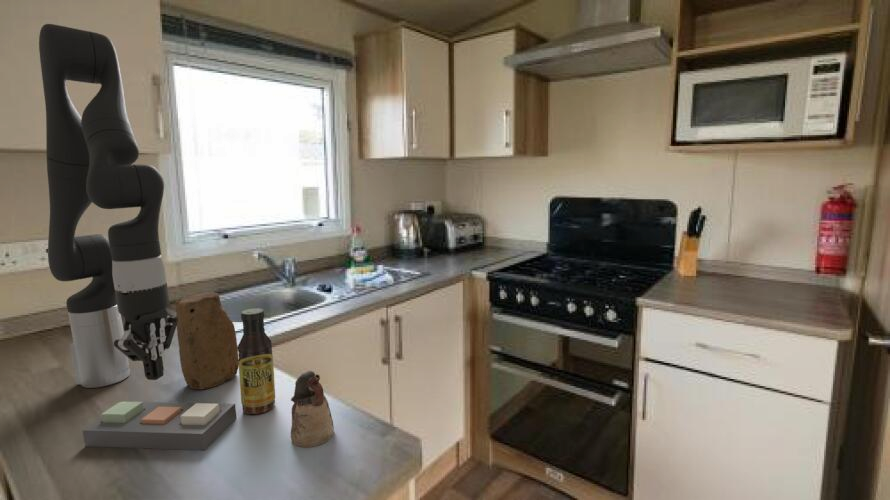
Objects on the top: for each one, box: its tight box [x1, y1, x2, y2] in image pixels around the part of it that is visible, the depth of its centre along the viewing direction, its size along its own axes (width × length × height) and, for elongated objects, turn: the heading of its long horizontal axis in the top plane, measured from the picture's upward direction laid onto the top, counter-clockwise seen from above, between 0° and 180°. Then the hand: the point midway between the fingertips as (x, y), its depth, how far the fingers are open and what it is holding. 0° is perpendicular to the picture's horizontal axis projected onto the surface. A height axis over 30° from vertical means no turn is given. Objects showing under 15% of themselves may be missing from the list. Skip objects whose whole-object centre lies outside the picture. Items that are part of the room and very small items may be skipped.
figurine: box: [290, 370, 335, 448], centre depth 81 cm, size 7×7×12 cm
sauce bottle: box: [237, 307, 276, 415], centre depth 90 cm, size 6×6×20 cm
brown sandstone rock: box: [174, 291, 239, 390], centre depth 103 cm, size 11×8×20 cm
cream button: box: [180, 402, 220, 425], centre depth 83 cm, size 4×4×2 cm
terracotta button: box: [141, 407, 182, 424], centre depth 84 cm, size 4×4×2 cm
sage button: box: [100, 401, 144, 423], centre depth 85 cm, size 4×4×2 cm
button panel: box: [82, 400, 237, 451], centre depth 84 cm, size 22×10×3 cm, turn 84°
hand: (155, 377), depth 83 cm, fingers closed
